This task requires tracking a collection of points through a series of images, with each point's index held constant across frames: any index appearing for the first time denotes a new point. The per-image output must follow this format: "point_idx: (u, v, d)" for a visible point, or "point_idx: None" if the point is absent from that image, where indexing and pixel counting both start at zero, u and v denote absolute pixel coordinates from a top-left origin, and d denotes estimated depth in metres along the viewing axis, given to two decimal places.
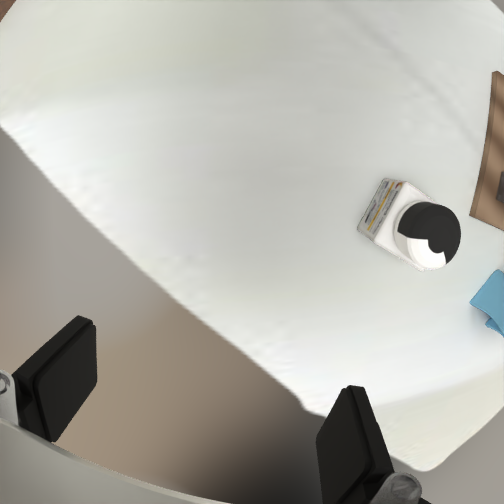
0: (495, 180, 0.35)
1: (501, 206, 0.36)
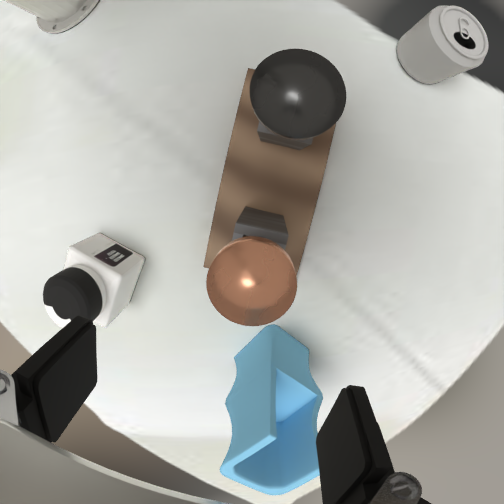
0: (234, 219, 0.36)
1: None
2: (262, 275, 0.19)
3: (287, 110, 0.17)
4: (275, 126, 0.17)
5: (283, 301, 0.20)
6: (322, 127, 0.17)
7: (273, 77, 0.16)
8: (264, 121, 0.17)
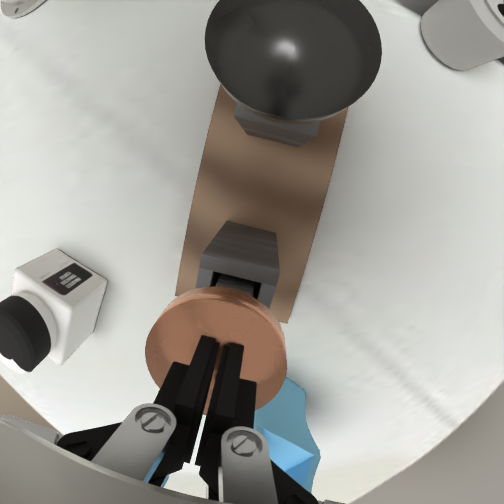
0: (212, 237, 0.28)
1: None
2: None
3: (274, 67, 0.08)
4: (252, 96, 0.09)
5: (265, 389, 0.12)
6: (340, 99, 0.09)
7: (249, 13, 0.08)
8: (230, 88, 0.09)
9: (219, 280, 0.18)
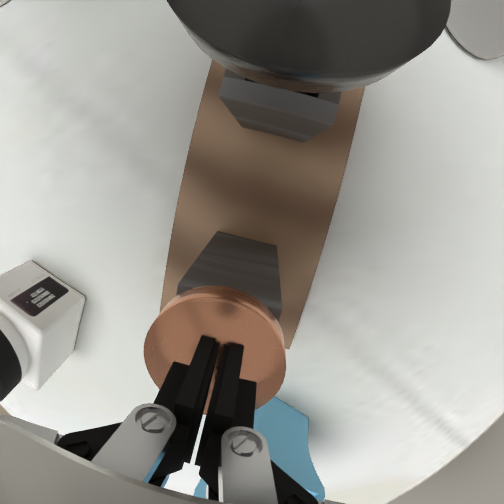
0: (200, 250, 0.23)
1: None
2: None
3: None
4: (234, 34, 0.04)
5: (264, 388, 0.12)
6: (397, 47, 0.04)
7: None
8: (194, 22, 0.04)
9: None
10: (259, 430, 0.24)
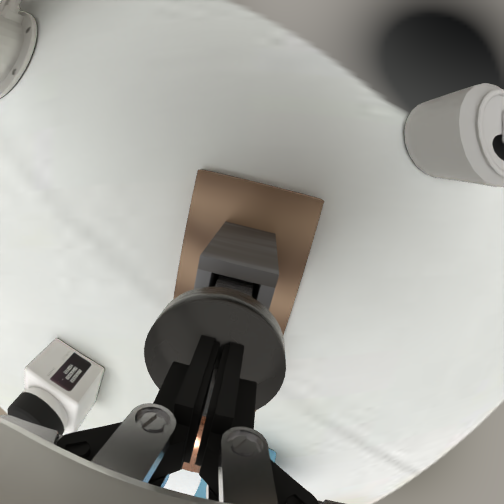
0: None
1: None
2: None
3: None
4: None
5: None
6: None
7: (175, 346, 0.12)
8: None
9: None
10: None
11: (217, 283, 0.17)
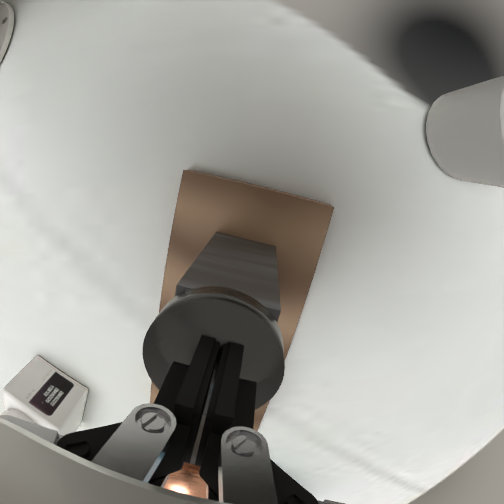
0: None
1: None
2: None
3: None
4: None
5: None
6: None
7: (173, 346, 0.11)
8: None
9: None
10: None
11: None
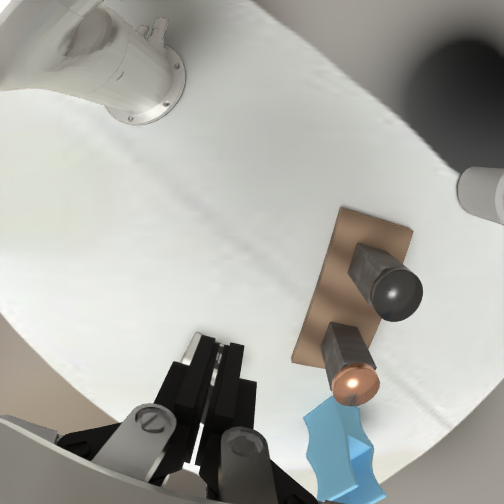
0: (320, 330, 0.45)
1: None
2: (363, 384, 0.33)
3: (391, 308, 0.30)
4: (384, 316, 0.30)
5: (371, 394, 0.33)
6: (406, 315, 0.30)
7: (388, 289, 0.29)
8: (379, 314, 0.30)
9: None
10: (340, 416, 0.45)
11: None
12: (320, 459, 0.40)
